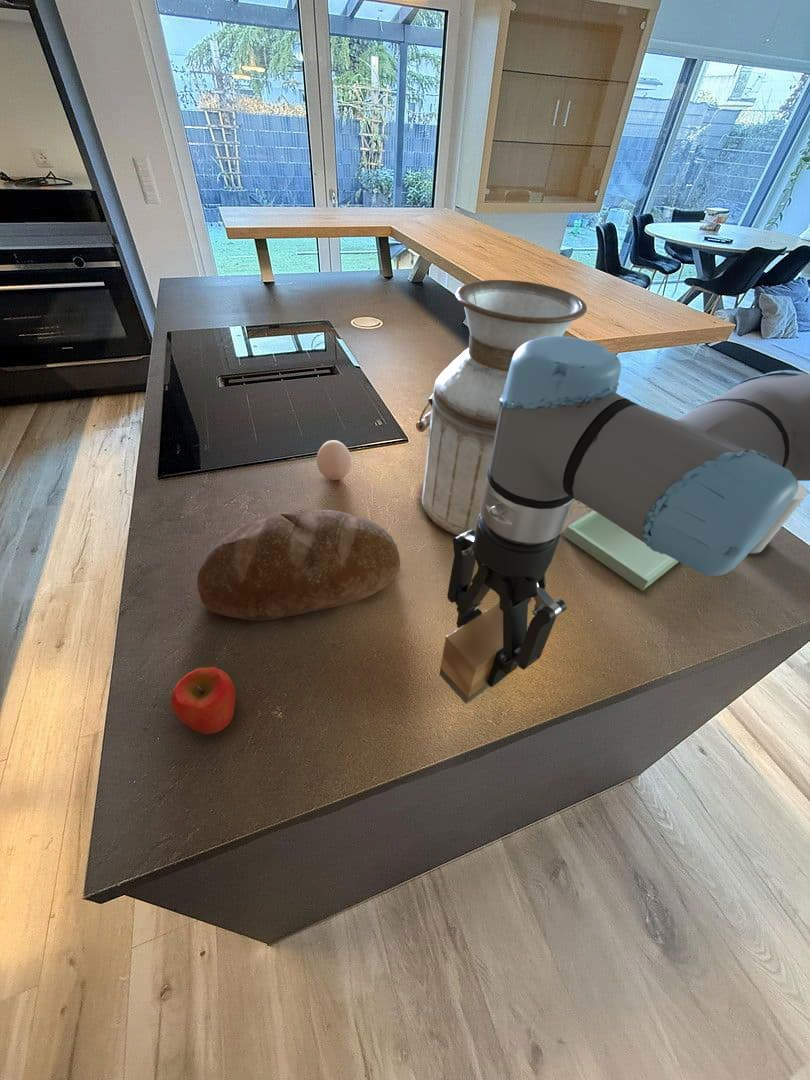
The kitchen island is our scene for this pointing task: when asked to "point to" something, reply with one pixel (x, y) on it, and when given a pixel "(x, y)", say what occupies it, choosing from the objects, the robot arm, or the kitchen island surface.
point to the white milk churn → (482, 391)
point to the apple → (205, 700)
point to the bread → (297, 565)
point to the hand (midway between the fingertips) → (480, 662)
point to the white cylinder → (782, 518)
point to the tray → (618, 549)
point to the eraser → (472, 653)
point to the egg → (334, 460)
